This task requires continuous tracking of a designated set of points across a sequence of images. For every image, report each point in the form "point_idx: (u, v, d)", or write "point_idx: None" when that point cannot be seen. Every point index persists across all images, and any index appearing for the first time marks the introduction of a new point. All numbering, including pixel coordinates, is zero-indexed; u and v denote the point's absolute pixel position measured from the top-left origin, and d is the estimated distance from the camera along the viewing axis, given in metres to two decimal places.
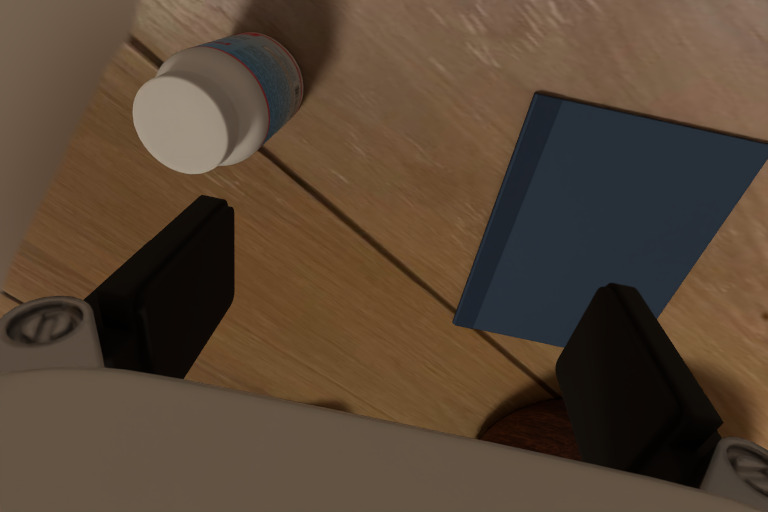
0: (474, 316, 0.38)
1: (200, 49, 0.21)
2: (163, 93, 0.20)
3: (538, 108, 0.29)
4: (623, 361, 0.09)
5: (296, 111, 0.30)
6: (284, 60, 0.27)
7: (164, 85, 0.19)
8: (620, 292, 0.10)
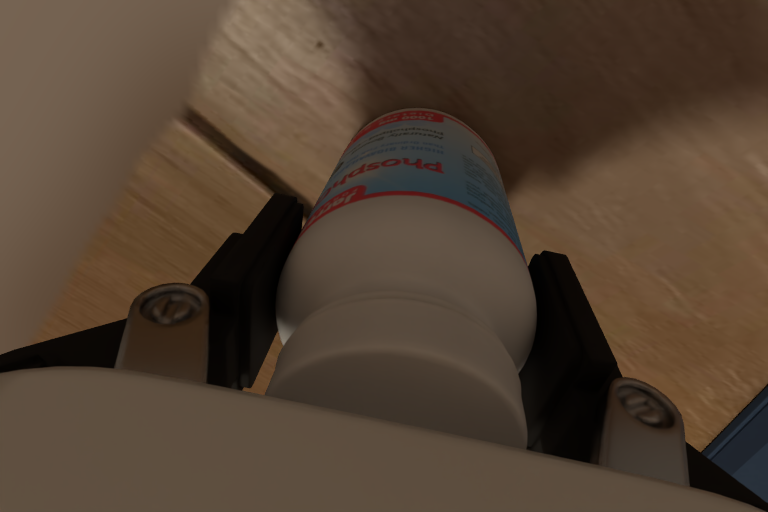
0: None
1: (416, 209, 0.08)
2: (364, 381, 0.07)
3: None
4: (545, 318, 0.10)
5: None
6: (496, 168, 0.14)
7: (374, 367, 0.06)
8: (549, 258, 0.11)
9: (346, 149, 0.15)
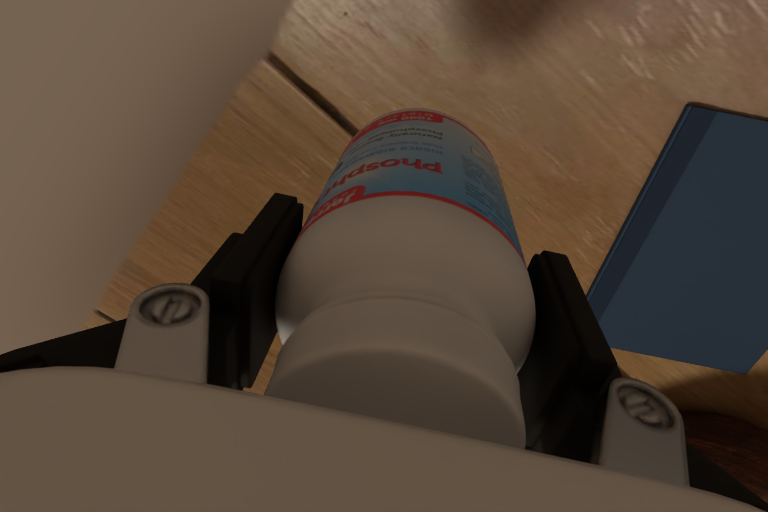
0: None
1: (415, 209, 0.09)
2: (364, 381, 0.07)
3: (689, 119, 0.28)
4: (545, 318, 0.10)
5: None
6: (495, 168, 0.14)
7: (373, 367, 0.07)
8: (549, 258, 0.11)
9: (346, 149, 0.15)
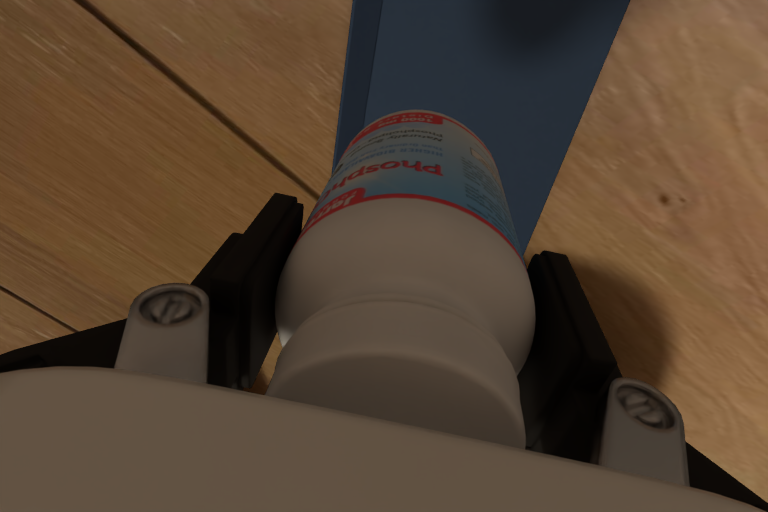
0: None
1: (414, 212, 0.09)
2: (363, 384, 0.07)
3: None
4: (545, 318, 0.10)
5: None
6: (495, 170, 0.14)
7: (373, 370, 0.07)
8: (549, 258, 0.11)
9: (345, 151, 0.15)
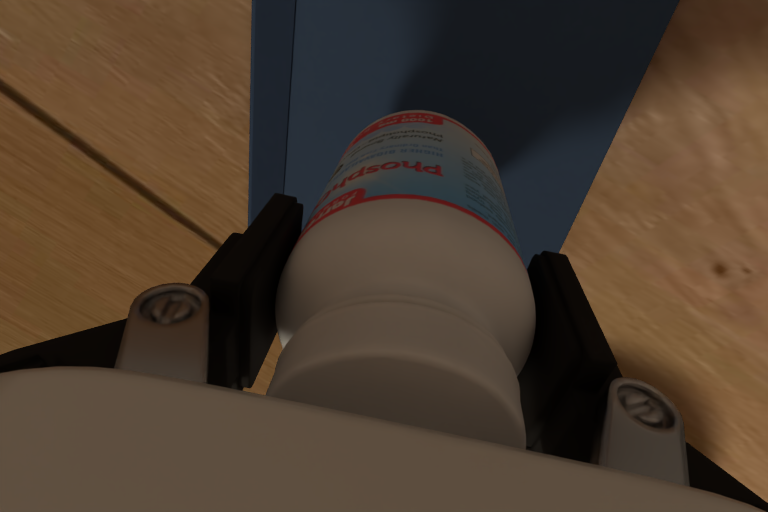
0: None
1: (415, 212, 0.09)
2: (364, 385, 0.07)
3: None
4: (545, 318, 0.10)
5: None
6: (495, 170, 0.14)
7: (373, 371, 0.07)
8: (549, 258, 0.11)
9: (346, 151, 0.15)
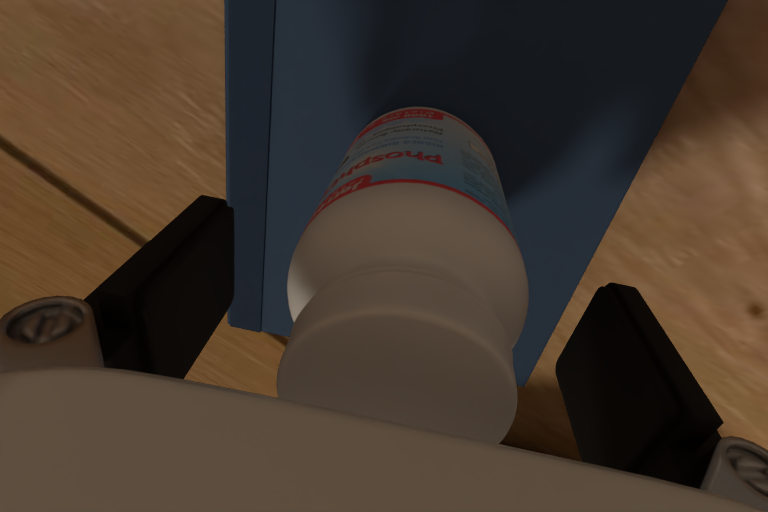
0: (258, 311, 0.22)
1: (417, 194, 0.09)
2: (372, 343, 0.07)
3: None
4: (623, 361, 0.09)
5: None
6: (492, 163, 0.15)
7: (380, 329, 0.07)
8: (620, 292, 0.10)
9: (351, 145, 0.15)
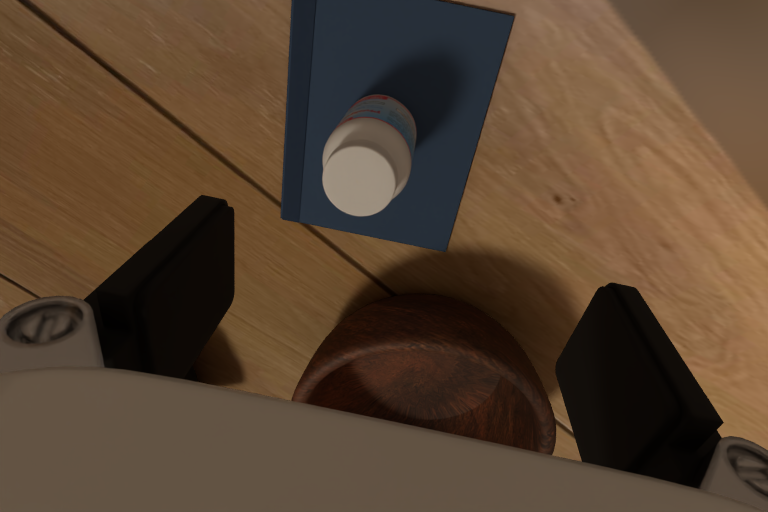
0: (298, 209, 0.41)
1: (367, 120, 0.28)
2: (351, 158, 0.26)
3: None
4: (623, 361, 0.09)
5: None
6: (409, 118, 0.33)
7: (353, 152, 0.26)
8: (620, 292, 0.10)
9: None
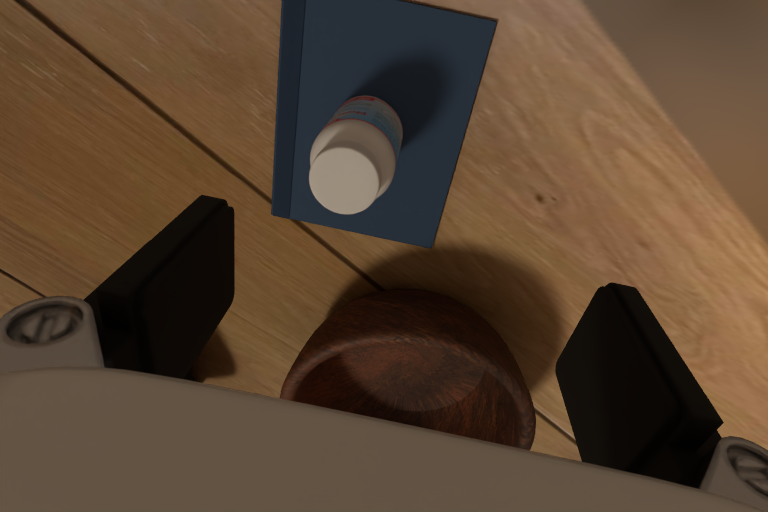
0: (288, 205, 0.42)
1: (353, 122, 0.29)
2: (336, 158, 0.27)
3: None
4: (623, 361, 0.09)
5: None
6: (395, 119, 0.34)
7: (338, 153, 0.27)
8: (620, 292, 0.10)
9: None
